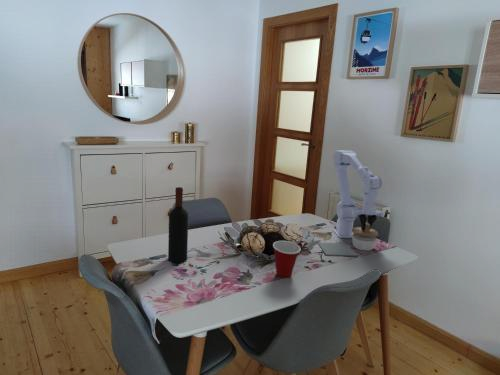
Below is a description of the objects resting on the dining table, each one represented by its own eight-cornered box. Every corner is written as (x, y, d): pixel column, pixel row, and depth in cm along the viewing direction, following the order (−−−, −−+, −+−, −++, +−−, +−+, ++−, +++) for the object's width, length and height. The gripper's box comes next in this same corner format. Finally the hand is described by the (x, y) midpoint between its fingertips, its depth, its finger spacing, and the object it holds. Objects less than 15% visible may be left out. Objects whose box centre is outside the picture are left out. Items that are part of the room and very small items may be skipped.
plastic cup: (288, 284, 139) (291, 253, 136) (264, 274, 146) (267, 245, 143) (303, 274, 148) (306, 245, 145) (280, 265, 154) (282, 238, 151)
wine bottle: (164, 260, 152) (165, 188, 145) (176, 254, 159) (177, 184, 152) (179, 265, 149) (180, 191, 142) (190, 258, 155) (192, 187, 148)
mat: (317, 243, 181) (317, 242, 181) (345, 244, 182) (346, 243, 182) (326, 255, 167) (326, 254, 167) (356, 256, 169) (356, 255, 169)
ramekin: (364, 253, 173) (366, 242, 172) (345, 245, 182) (347, 234, 180) (379, 249, 179) (381, 238, 178) (360, 241, 188) (362, 231, 187)
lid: (348, 228, 184) (349, 218, 183) (371, 228, 185) (373, 219, 184) (357, 236, 173) (358, 226, 171) (382, 237, 174) (383, 227, 173)
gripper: (357, 204, 171) (353, 232, 174) (388, 205, 172) (383, 233, 175) (352, 199, 177) (348, 227, 181) (381, 200, 179) (377, 227, 182)
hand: (365, 229), depth 178 cm, fingers closed on lid
